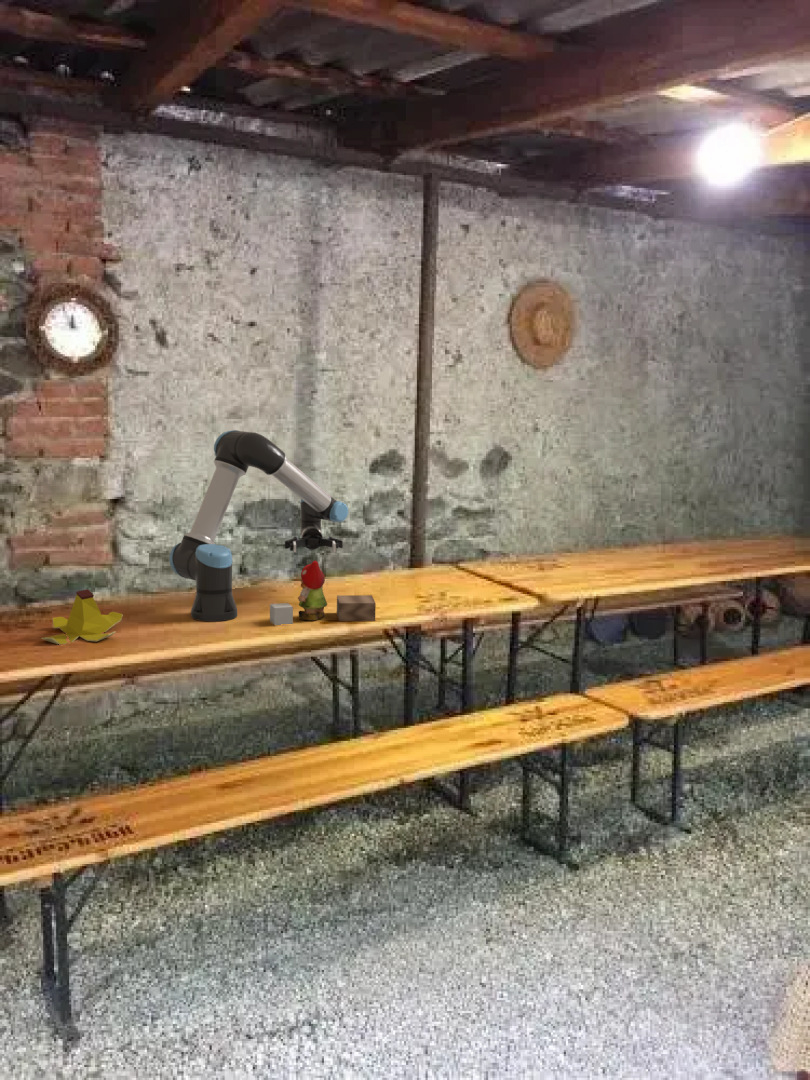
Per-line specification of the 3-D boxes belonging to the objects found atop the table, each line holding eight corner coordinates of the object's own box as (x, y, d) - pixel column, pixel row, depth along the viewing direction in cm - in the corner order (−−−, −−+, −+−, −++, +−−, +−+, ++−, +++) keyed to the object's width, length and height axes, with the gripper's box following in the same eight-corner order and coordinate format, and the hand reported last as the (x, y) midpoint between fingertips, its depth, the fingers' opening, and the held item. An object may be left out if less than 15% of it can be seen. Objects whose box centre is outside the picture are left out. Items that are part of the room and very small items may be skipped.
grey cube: (274, 626, 315) (274, 608, 314) (269, 621, 320) (269, 604, 319) (292, 624, 317) (292, 606, 316) (287, 620, 323) (287, 602, 322)
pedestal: (339, 621, 323) (339, 603, 322) (336, 612, 335) (336, 595, 334) (375, 620, 325) (375, 603, 324) (371, 612, 337) (371, 595, 336)
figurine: (308, 614, 332) (308, 556, 329) (331, 616, 329) (332, 558, 326) (294, 621, 322) (294, 561, 319) (317, 623, 319) (318, 563, 316)
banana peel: (139, 645, 297) (140, 599, 293) (48, 657, 282) (48, 608, 278) (115, 617, 316) (116, 573, 312) (29, 627, 302) (28, 581, 298)
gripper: (346, 547, 359) (351, 558, 338) (277, 548, 356) (278, 559, 335) (346, 527, 358) (351, 537, 337) (277, 528, 354) (278, 538, 334)
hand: (314, 548), depth 336 cm, fingers open, 13 cm apart
